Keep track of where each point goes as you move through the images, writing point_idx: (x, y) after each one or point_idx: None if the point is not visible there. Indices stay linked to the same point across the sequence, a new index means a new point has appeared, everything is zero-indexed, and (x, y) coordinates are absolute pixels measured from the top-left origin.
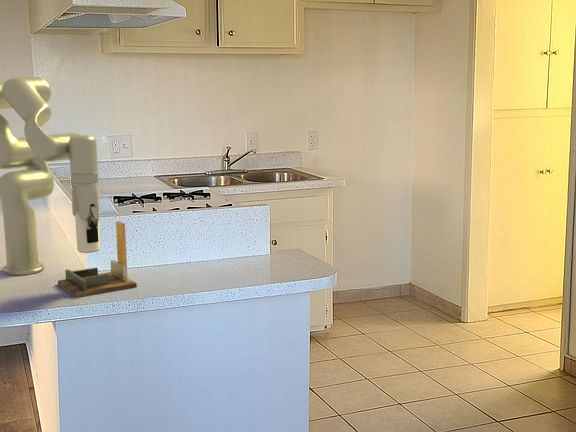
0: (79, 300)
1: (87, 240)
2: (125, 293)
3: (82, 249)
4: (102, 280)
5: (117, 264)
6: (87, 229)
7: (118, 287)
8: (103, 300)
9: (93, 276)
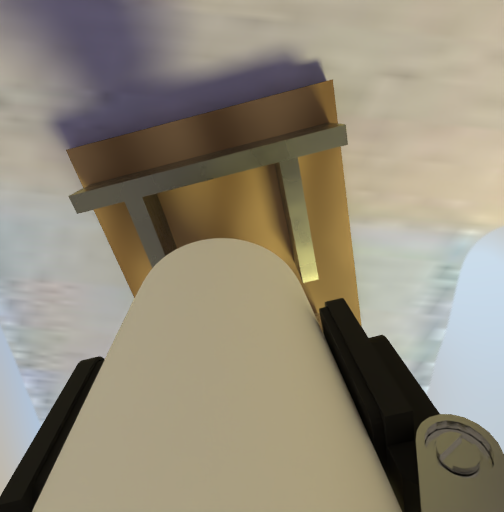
0: (25, 155)
1: (73, 375)
2: (99, 325)
3: (145, 278)
4: None
5: None
6: (9, 510)
7: None
8: (14, 247)
9: (152, 253)
